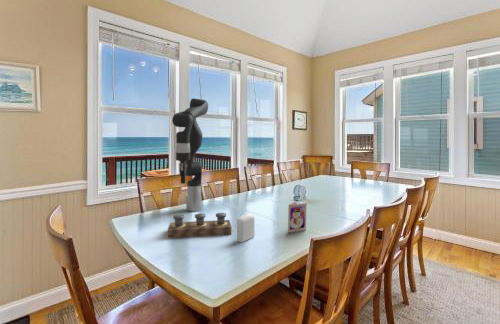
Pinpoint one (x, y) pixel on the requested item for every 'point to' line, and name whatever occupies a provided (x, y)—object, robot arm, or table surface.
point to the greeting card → (297, 217)
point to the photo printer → (245, 227)
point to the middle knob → (200, 219)
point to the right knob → (221, 218)
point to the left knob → (178, 220)
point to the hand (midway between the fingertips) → (183, 183)
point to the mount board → (199, 229)
